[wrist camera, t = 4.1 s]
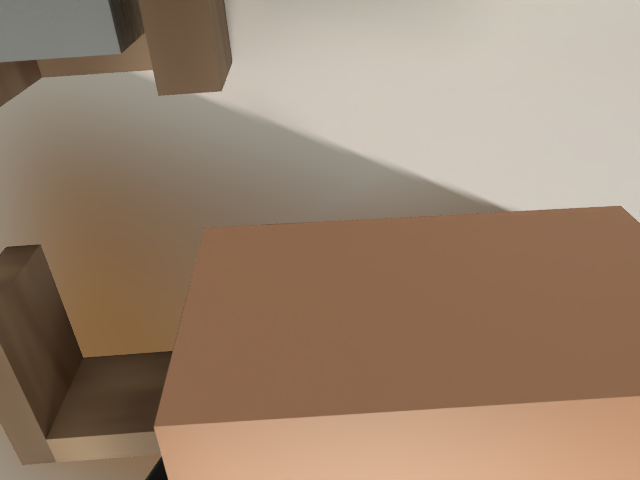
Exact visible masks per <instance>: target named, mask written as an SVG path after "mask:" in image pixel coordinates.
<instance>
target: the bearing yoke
mask: <svg viewBox="0 0 640 480" xmlns="http://www.w3.org/2000/svg"><path fill="white" fill-rule="evenodd" d="M138 1H139V6H140V11H141V15H142V20H143V25H144V30H145V33H144V34H143V35H142V36H141V37H139V38H138V39H137V40H136V41H135V42H134V43H133V44H132V45H130V46H129V47H128V48H127V49H126V50H125V51H124V52H123V53H121V54H112V55H98V56H83V57H69V58H54V59H40V60H26V61H11V62H0V107H1V106H2V105H3V104H5V103H6V102H8V101H9V100H11V99H12V98H13V97H15V96H16V95H18V94H19V93H21V92H22V91H23V90H25V89H26V88H28V87H29V86H31V85H32V84H33V83H35V82H36V81H38V80H39V79H40V78H42V77H56V76H70V75H85V74H98V73H113V72H128V71H142V70H153V72H154V77H155V81H156V86H157V90H158V95H159V96H160V95H174V94H189V93H203V92H217V91H222V89H223V86H224V83H225V81H226V78H227V75H228V72H229V70H230V67H231V64H232V57H231V50H230V42H229V35H228V28H227V20H226V13H225V6H224V0H138Z"/></svg>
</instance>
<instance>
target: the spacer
mask: <svg viewBox="0 0 640 480" xmlns="http://www.w3.org/2000/svg"><path fill="white" fill-rule="evenodd" d="M154 430H155V433H156V437H157V441H158V444H159V448H160V452H161V455H162V459H163V463H164V466H165V470H166V474H167V477H168V480H640V223H639V222H638V221H637V220H636V219H635V218H633V217H632V216H631V215H630V214H629V213H628V212H627V211H626V210H625V209H623V208H622V207H621V206H609V207H590V208H571V209H552V210H533V211H514V212H495V213H476V214H457V215H438V216H419V217H400V218H382V219H363V220H345V221H325V222H307V223H288V224H268V225H249V226H230V227H212V228H204V230H203V234H202V238H201V242H200V246H199V250H198V254H197V258H196V262H195V266H194V270H193V274H192V277H191V282H190V285H189V290H188V293H187V297H186V301H185V305H184V309H183V313H182V317H181V321H180V325H179V329H178V333H177V337H176V341H175V345H174V349H173V353H172V357H171V361H170V364H169V368H168V372H167V376H166V380H165V384H164V388H163V392H162V396H161V400H160V404H159V408H158V412H157V416H156V420H155V424H154Z"/></svg>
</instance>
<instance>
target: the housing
mask: <svg viewBox="0 0 640 480" xmlns="http://www.w3.org/2000/svg"><path fill="white" fill-rule="evenodd" d="M172 353H173V351H168V352H155V353H141V354H128V355H114V356H101V357H87V358H83V356H82V353H81V351H80V348H79V346H78V343H77V340H76V338H75V335H74V332H73V330H72V327H71V324H70V322H69V319H68V316H67V314H66V311H65V309H64V306H63V303H62V301H61V298H60V295H59V293H58V290H57V287H56V285H55V282H54V280H53V277H52V274H51V272H50V269H49V266H48V264H47V261H46V258H45V256H44V253H43V250H42V248H41V245H27V246H13V247H6V248H5V249H4V250H3V252H2V253H1V254H0V423H1V425H2V427H3V429H4V430H5V433H6V434H7V436H8V438H9V440H10V442H11V444H12V446H13V448H14V450H15V452H16V453H17V455H18V457H19V459H20V461H21V463H22V465H26V464H38V463H52V462H64V461H79V460H92V459H104V458H117V457H131V456H144V455H158V454H161V452H160V448H159V444H158V441H157V437H156V433H155V430H154V424H155V420H156V416H157V412H158V408H159V404H160V400H161V396H162V392H163V388H164V384H165V380H166V376H167V372H168V368H169V364H170V361H171V357H172Z"/></svg>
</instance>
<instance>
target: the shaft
mask: <svg viewBox="0 0 640 480" xmlns="http://www.w3.org/2000/svg"><path fill="white" fill-rule="evenodd" d="M144 33H145V30H144V25H143V20H142V15H141V11H140V6H139V1H138V0H0V62H11V61H26V60H40V59H54V58H69V57H83V56H98V55H112V54H121V53H123V52H124V51H125V50H126V49H127V48H128V47H129V46H130V45H132V44H133V43H134V42H135V41H136V40H137V39H138V38H139V37H141V36H142V35H143V34H144Z"/></svg>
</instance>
